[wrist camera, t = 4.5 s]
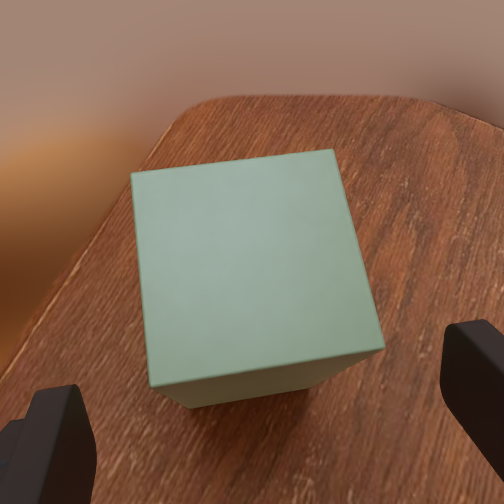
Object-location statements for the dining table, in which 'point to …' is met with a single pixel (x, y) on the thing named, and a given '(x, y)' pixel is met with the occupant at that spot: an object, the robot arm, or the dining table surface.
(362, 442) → the dining table surface
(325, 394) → the dining table surface
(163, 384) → the green carton
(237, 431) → the dining table surface
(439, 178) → the dining table surface
